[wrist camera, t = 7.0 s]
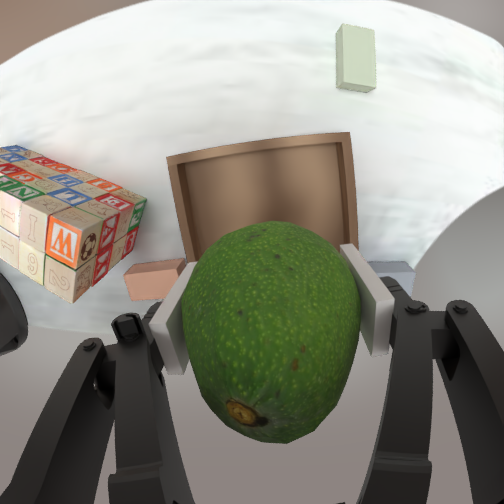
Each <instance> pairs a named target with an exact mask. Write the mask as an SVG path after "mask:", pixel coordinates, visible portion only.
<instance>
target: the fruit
mask: <svg viewBox="0 0 504 504" xmlns="http://www.w3.org/2000/svg"><path fill="white" fill-rule="evenodd" d="M181 310H182V321H183V330H184V337H185V343H186V347H187V351H188V355H189V359H190V362H191V365H192V368H193V371H194V374H195V377H196V380H197V383H198V386H199V389H200V392H201V395H202V397H203V399H204V400H205V402H206V403H207V405H208V406H209V407H210V409H211V410H212V411H213V412H214V413H215V414H216V415H217V416H218V418H219V419H220V420H221V421H222V422H223V423H224V424H225V425H226V426H228V427H230V428H231V429H233V430H235V431H237V432H239V433H241V434H242V435H244V436H247V437H249V438H252V439H255V440H257V441H260V442H266V443H283V444H287V443H290V442H292V441H294V440H296V439H298V438H300V437H303V436H305V435H307V434H309V433H311V432H313V431H315V429H316V428H317V427H318V426H319V424H320V423H321V422H322V421H323V420H324V419H325V418H326V416H328V414H329V413H330V412H331V411H332V410H333V409H334V408H335V406H336V405H337V403H338V401H339V399H340V396H341V394H342V392H343V390H344V387H345V385H346V382H347V379H348V376H349V373H350V370H351V367H352V364H353V360H354V356H355V353H356V349H357V345H358V341H359V332H360V324H361V299H360V296H359V293H358V289H357V286H356V283H355V280H354V277H353V275H352V273H351V271H350V269H349V267H348V264H347V262H346V260H345V259H344V258H343V256H342V255H341V254H340V253H339V252H338V251H337V250H336V248H335V247H334V246H333V245H332V244H331V243H330V242H328V241H327V240H325V239H324V238H322V237H320V236H319V235H317V234H316V233H314V232H313V231H310V230H308V229H306V228H303V227H301V226H298V225H296V224H293V223H290V222H282V221H268V222H262V223H257V224H252V225H249V226H246V227H243V228H241V229H238V230H235V231H233V232H230V233H228V234H225V235H223V236H222V237H221V238H220V239H219V240H217V241H216V242H215V243H214V244H213V245H211V246H210V247H209V248H208V249H207V250H206V251H205V252H204V254H203V255H202V257H201V258H200V259H199V261H198V262H197V264H196V265H195V266H194V269H193V271H192V273H191V276H190V278H189V281H188V283H187V285H186V289H185V292H184V295H183V298H182V301H181Z"/></svg>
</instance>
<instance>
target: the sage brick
mask: <svg viewBox="0 0 504 504" xmlns="http://www.w3.org/2000/svg"><path fill="white" fill-rule="evenodd" d="M336 88H340V89H347V90H354V91H360V92H365V93H367V92H369V91H371V90H373V89H375V88H376V54H375V35H374V30H372V29H368V28H363V27H358V26H353V25H348V24H342V25H341V26H340V28H339V30H338V31H337V33H336Z"/></svg>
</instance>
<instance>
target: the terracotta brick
mask: <svg viewBox="0 0 504 504" xmlns="http://www.w3.org/2000/svg"><path fill="white" fill-rule="evenodd" d="M185 267H186V265H185V261H184V258H180V259H173V260H165V261H157V262H149V263H141V264H134V265H133V266H132V267H131V268H130V269H129V270H128V271H127V272H126V273H125V274H124V275H123V276H124V279H125V283H126V286H127V289H128V292H129V295H130V298H131V301H137V300H150V299H163V298H165V297H166V296H167V294H168V293H169V291H170V290H171V288H172V287H173V285H174V284H175V282H176V281H177V279H178V278H179V276H180V274H181V273H182V271H183V270H184V268H185Z"/></svg>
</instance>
